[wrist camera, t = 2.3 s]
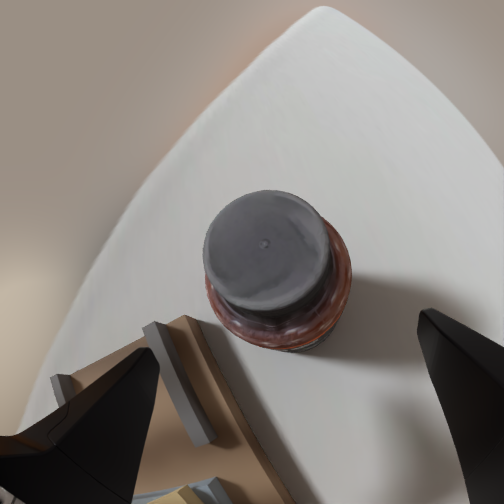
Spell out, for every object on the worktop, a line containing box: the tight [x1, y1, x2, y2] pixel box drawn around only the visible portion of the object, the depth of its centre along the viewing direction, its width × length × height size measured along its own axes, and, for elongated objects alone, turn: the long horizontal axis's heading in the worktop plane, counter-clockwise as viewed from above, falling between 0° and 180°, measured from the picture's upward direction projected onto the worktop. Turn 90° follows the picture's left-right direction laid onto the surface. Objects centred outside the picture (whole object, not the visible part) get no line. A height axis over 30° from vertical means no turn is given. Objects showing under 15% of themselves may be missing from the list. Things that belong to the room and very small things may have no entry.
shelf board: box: [50, 315, 296, 504], centre depth 15 cm, size 16×14×5 cm
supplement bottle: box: [203, 190, 352, 352], centre depth 14 cm, size 6×6×11 cm
